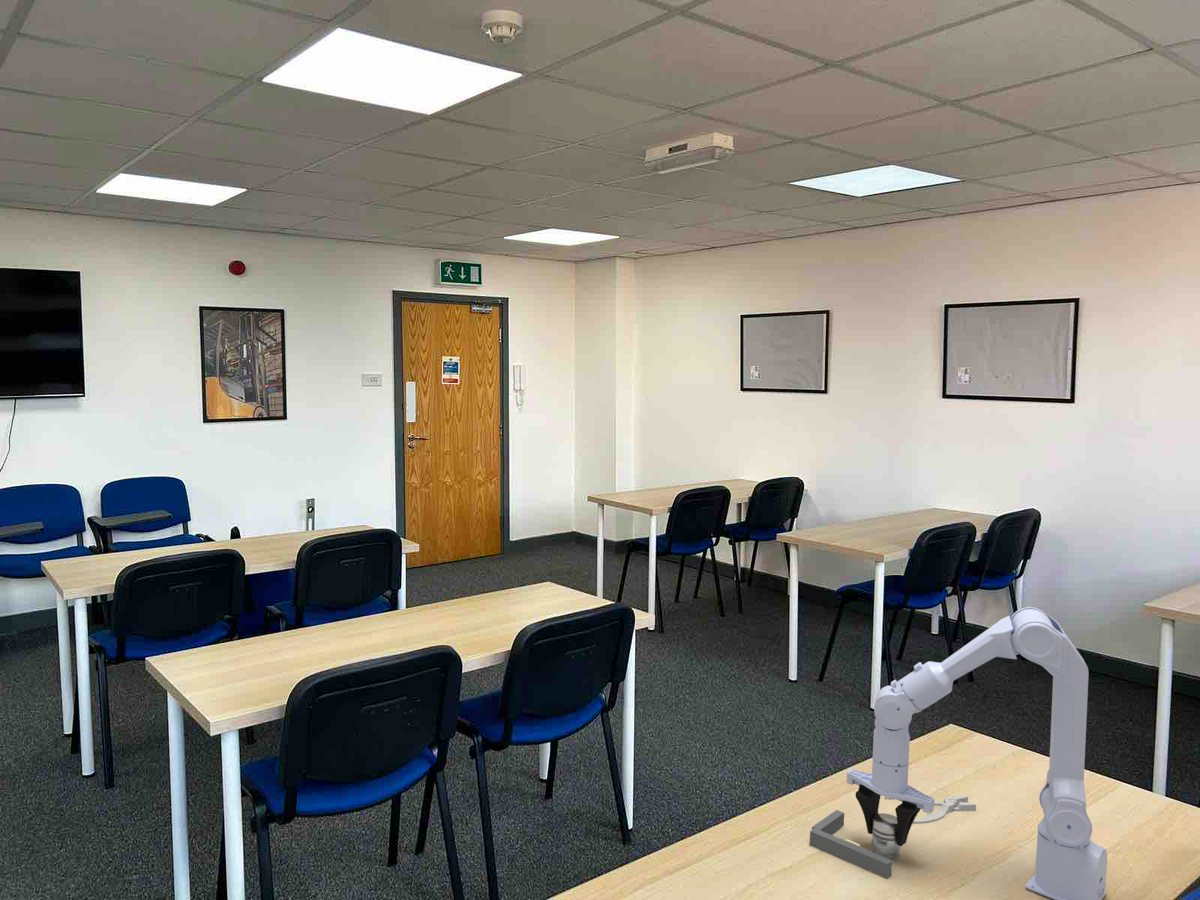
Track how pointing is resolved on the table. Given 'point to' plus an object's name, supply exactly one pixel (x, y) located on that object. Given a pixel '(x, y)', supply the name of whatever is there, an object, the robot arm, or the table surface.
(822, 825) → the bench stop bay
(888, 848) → the piston
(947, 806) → the pliers
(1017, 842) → the table surface
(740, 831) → the table surface
